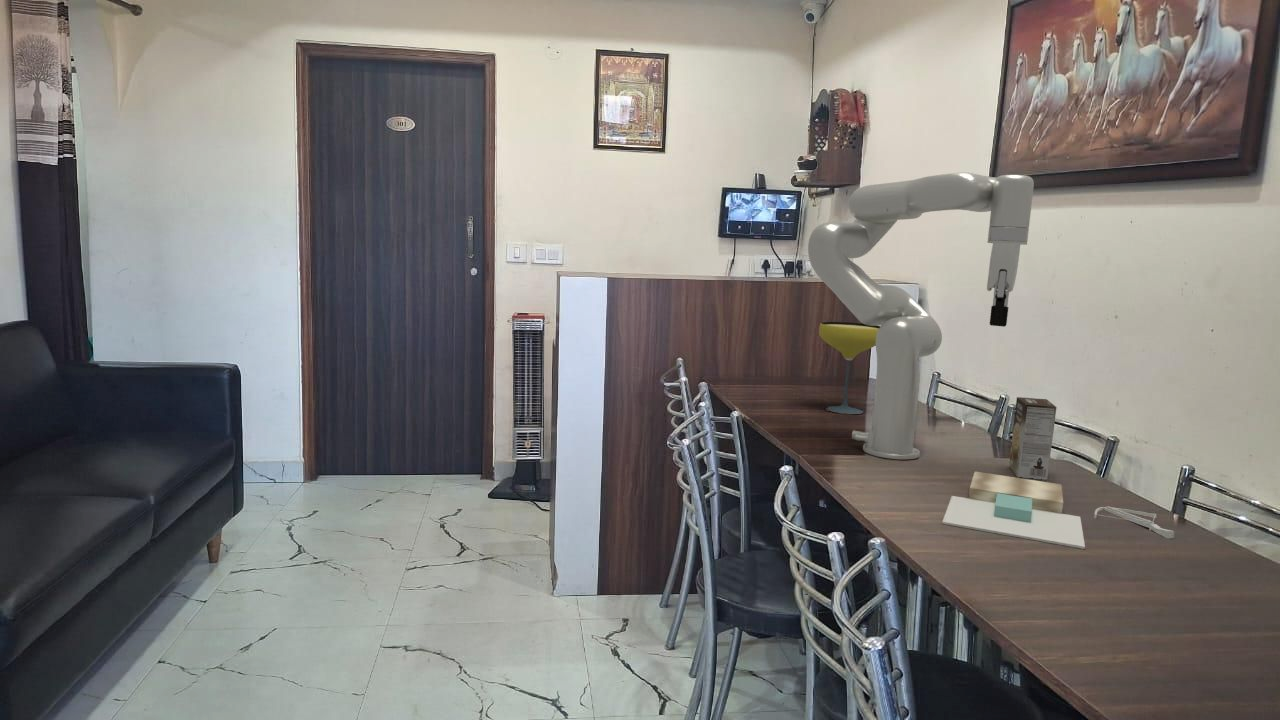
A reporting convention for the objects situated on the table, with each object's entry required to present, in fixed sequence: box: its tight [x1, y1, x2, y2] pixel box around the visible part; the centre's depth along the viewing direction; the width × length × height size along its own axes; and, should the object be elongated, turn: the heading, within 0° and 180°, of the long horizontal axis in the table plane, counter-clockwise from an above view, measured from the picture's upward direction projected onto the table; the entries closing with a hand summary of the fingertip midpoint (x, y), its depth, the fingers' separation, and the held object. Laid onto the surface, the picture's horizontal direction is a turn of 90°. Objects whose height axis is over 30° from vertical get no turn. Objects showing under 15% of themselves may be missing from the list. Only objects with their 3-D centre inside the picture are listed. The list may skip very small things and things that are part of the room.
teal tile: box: [994, 493, 1032, 523], centre depth 154 cm, size 6×9×2 cm, turn 155°
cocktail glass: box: [818, 321, 881, 415], centre depth 244 cm, size 18×18×25 cm
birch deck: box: [968, 471, 1064, 514], centre depth 165 cm, size 16×14×2 cm
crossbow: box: [1093, 505, 1175, 539], centre depth 154 cm, size 16×13×2 cm
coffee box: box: [1008, 396, 1057, 481], centre depth 184 cm, size 9×6×16 cm
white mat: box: [941, 495, 1086, 550], centre depth 150 cm, size 22×18×1 cm
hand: (997, 325), depth 177 cm, fingers closed
